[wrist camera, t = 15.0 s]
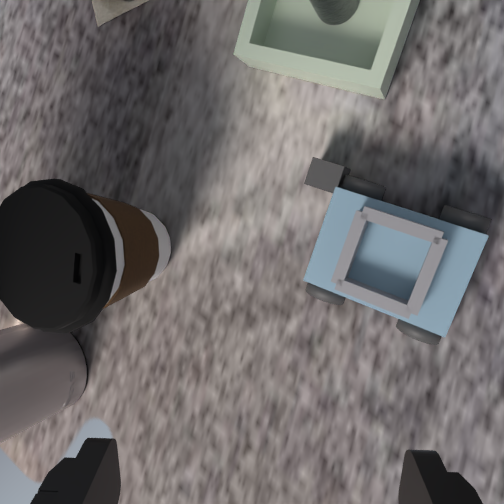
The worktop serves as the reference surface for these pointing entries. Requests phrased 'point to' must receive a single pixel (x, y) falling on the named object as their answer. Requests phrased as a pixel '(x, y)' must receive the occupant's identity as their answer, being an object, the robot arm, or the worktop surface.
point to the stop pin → (335, 10)
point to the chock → (326, 175)
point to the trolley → (395, 258)
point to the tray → (327, 43)
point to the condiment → (112, 8)
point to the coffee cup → (73, 254)
